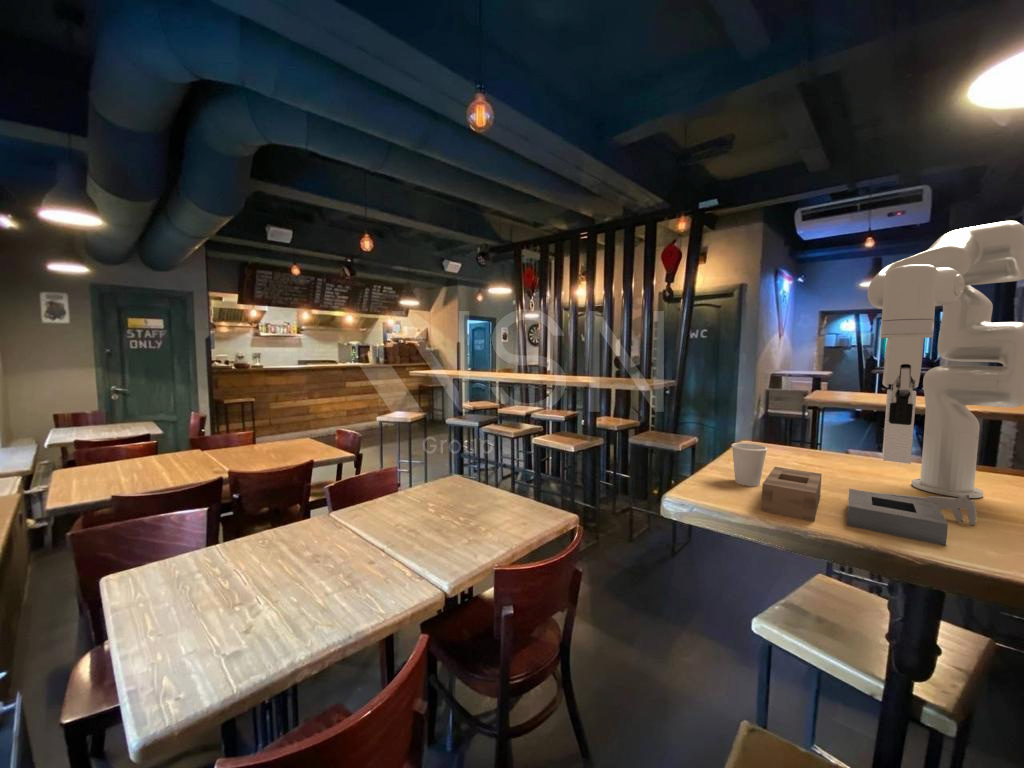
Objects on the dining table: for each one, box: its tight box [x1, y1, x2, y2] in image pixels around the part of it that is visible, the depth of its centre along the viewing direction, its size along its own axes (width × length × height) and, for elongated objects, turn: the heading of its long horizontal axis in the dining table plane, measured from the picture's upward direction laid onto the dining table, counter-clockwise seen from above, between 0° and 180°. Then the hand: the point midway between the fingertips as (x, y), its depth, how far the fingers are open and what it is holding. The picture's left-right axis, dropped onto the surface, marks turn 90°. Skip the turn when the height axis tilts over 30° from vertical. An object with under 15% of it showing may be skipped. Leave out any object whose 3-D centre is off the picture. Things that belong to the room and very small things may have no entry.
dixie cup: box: [730, 442, 768, 487], centre depth 112 cm, size 8×8×10 cm
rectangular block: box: [881, 389, 917, 465], centre depth 84 cm, size 4×4×14 cm
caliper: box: [872, 491, 978, 526], centre depth 94 cm, size 20×1×6 cm, turn 25°
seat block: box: [846, 488, 949, 546], centre depth 86 cm, size 14×14×4 cm
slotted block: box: [760, 466, 822, 522], centre depth 96 cm, size 18×10×6 cm, turn 141°
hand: (899, 421), depth 84 cm, fingers closed on rectangular block, 4 cm apart
